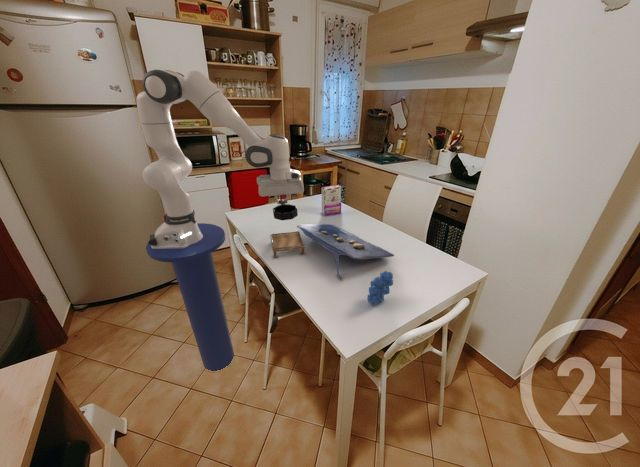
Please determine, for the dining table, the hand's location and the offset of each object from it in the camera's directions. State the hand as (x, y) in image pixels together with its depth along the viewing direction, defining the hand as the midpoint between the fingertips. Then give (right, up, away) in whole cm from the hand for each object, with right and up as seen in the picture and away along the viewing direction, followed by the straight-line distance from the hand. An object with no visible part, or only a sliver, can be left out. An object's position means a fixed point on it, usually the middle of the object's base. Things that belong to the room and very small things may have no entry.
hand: (282, 203), depth 121 cm
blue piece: (+26, -21, +1) cm, 34 cm away
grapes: (+37, -37, -30) cm, 61 cm away
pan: (+1, -4, -4) cm, 6 cm away
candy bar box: (+24, -2, +38) cm, 45 cm away
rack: (+2, -21, +1) cm, 21 cm away
